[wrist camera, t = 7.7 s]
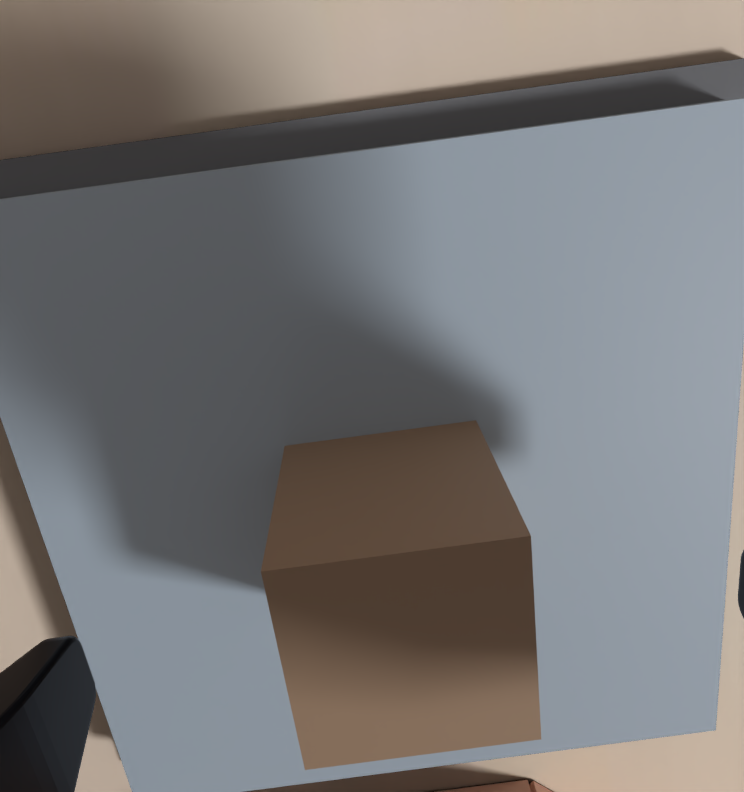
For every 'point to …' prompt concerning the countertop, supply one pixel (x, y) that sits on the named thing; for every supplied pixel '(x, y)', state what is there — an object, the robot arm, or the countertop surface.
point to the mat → (371, 128)
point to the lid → (389, 444)
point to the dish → (504, 787)
